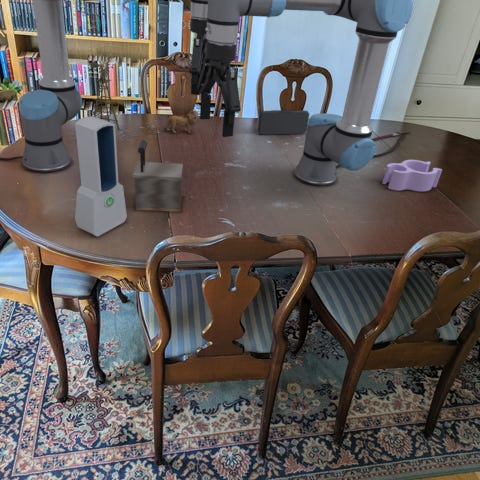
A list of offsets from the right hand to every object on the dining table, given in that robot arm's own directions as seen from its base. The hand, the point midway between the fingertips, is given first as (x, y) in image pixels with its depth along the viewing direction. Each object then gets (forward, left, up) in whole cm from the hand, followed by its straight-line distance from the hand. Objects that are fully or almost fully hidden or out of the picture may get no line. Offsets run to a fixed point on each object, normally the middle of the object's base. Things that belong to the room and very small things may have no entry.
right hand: (215, 127), depth 124 cm
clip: (-80, +3, -28) cm, 85 cm away
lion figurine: (-20, -69, -28) cm, 77 cm away
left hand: (-11, -34, 0) cm, 35 cm away
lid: (+11, -13, -17) cm, 25 cm away
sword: (-109, -37, -28) cm, 119 cm away
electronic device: (+30, -6, -28) cm, 42 cm away
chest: (+11, -13, -28) cm, 33 cm away
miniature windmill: (+10, -77, -28) cm, 82 cm away
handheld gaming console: (-62, -56, -28) cm, 88 cm away
